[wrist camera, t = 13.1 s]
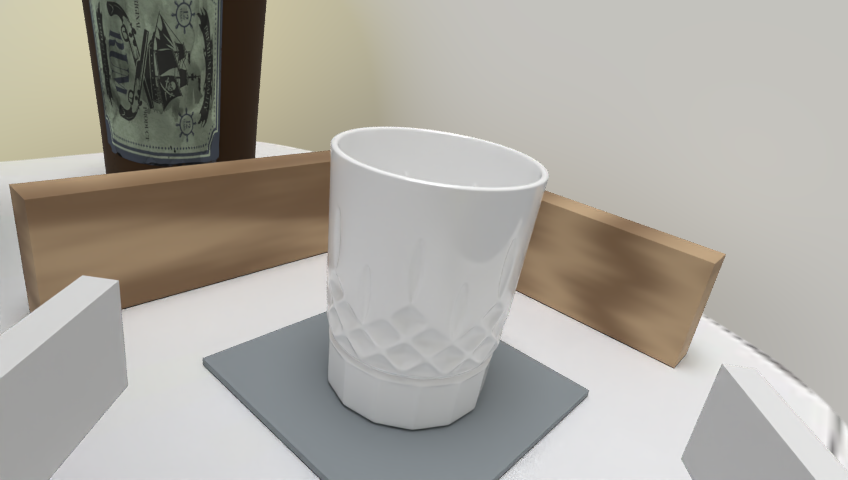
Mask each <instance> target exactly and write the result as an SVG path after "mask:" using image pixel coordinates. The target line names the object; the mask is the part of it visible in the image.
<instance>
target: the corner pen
mask: <svg viewBox="0 0 848 480" xmlns="http://www.w3.org/2000/svg"><path fill="white" fill-rule="evenodd" d="M330 155H331V150H329V151H320V152H310V153H301V154H291V155H282V156H272V157H263V158H254V159H244V160H235V161H225V162H216V163H206V164H197V165H188V166H178V167H169V168H159V169H150V170H140V171H131V172H122V173H112V174H103V175H93V176H84V177H74V178H65V179H56V180H46V181H37V182H27V183H18V184H9V187H10V193H11V199H12V205H13V211H14V217H15V224H16V230H17V236H18V242H19V248H20V254H21V260H22V267H23V273H24V279H25V285H26V291H27V297H28V303H29V310H30V312H33V311H34V310H36V309H37V308H38V307H40V306H41V305H42V304H44V303H45V302H46V301H48V300H49V299H51V298H52V297H53V296H55V295H56V294H57V293H59V292H60V291H62V290H63V289H64V288H66V287H67V286H68V285H70V284H71V283H73V282H74V281H75V280H77V279H78V278H79V277H81V276H82V275H84V276H91V277H98V278H105V279H113V280H119V288H120V299H121V309H123V308H127V307H130V306H134V305H138V304H141V303H145V302H148V301H152V300H156V299H159V298H163V297H166V296H170V295H174V294H177V293H181V292H184V291H188V290H192V289H195V288H199V287H202V286H206V285H210V284H213V283H217V282H220V281H224V280H228V279H231V278H235V277H238V276H242V275H246V274H249V273H253V272H256V271H260V270H264V269H267V268H271V267H274V266H278V265H282V264H285V263H289V262H292V261H296V260H300V259H303V258H307V257H310V256H314V255H318V254H321V253H325V252H328V223H329V193H330ZM724 258H725V254H724V253H721V252H718V251H715V250H712V249H709V248H707V247H704V246H701V245H698V244H695V243H692V242H690V241H686V240H684V239H681V238H678V237H675V236H673V235H670V234H667V233H664V232H661V231H658V230H656V229H653V228H650V227H647V226H644V225H641V224H639V223H635V222H633V221H630V220H627V219H624V218H622V217H618V216H616V215H613V214H610V213H607V212H604V211H602V210H599V209H596V208H593V207H590V206H588V205H585V204H582V203H579V202H576V201H573V200H571V199H568V198H565V197H562V196H559V195H556V194H554V193H551V192H548V191H545V192H544V195H543V198H542V202H541V205H540V208H539V212H538V215H537V219H536V222H535V225H534V229H533V232H532V236H531V239H530V243H529V246H528V250H527V253H526V256H525V260H524V263H523V267H522V270H521V274H520V277H519V280H518V284H517V287H516V290H517V291H519V292H521V293H523V294H525V295H527V296H529V297H531V298H533V299H535V300H537V301H539V302H541V303H543V304H545V305H547V306H549V307H551V308H553V309H555V310H557V311H559V312H561V313H564V314H566V315H568V316H570V317H572V318H574V319H576V320H578V321H580V322H582V323H584V324H586V325H588V326H590V327H592V328H594V329H596V330H598V331H600V332H602V333H604V334H606V335H608V336H610V337H612V338H614V339H616V340H618V341H620V342H622V343H624V344H626V345H629V346H631V347H633V348H635V349H637V350H639V351H641V352H643V353H645V354H647V355H649V356H651V357H653V358H655V359H657V360H659V361H661V362H663V363H665V364H667V365H669V366H671V367H673V368H675V366H676V365H677V364H678V363H679V362H680V361H681V360H682V358H683V357H684V356H685V355H686V353H687V351H688V348H689V346H690V343H691V341H692V338H693V336H694V333H695V331H696V328H697V326H698V323H699V321H700V318H701V316H702V313H703V311H704V308H705V306H706V303H707V301H708V298H709V295H710V293H711V290H712V288H713V285H714V283H715V281H716V278H717V275H718V273H719V270H720V268H721V265H722V263H723V260H724Z"/></svg>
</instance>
